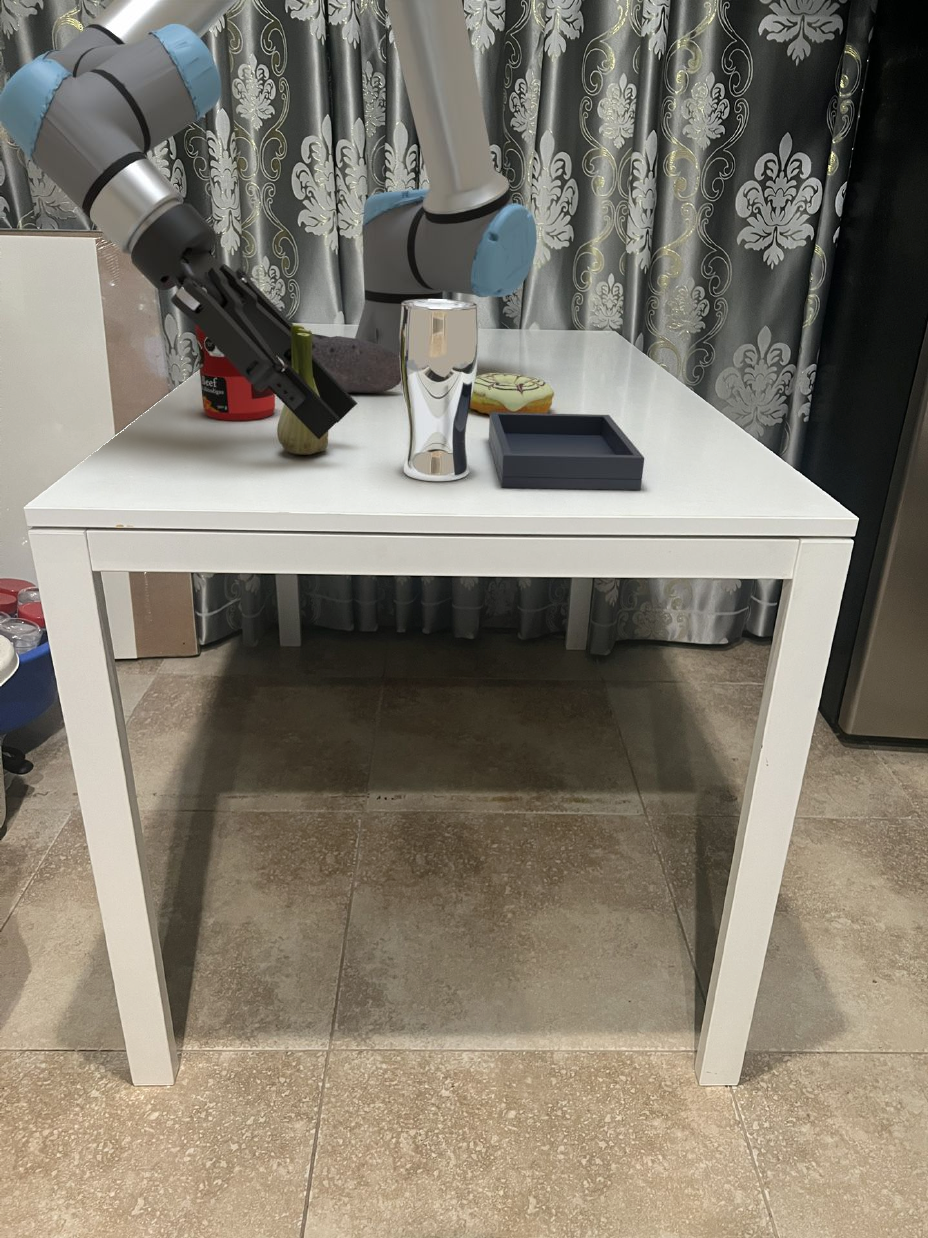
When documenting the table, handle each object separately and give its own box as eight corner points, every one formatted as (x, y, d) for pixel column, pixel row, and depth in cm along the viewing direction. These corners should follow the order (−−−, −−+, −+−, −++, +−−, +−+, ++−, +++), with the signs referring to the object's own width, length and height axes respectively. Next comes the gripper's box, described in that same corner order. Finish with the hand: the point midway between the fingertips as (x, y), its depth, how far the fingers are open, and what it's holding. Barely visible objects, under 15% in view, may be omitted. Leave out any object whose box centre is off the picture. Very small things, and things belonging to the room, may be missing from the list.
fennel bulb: (318, 462, 86) (313, 331, 81) (269, 458, 87) (261, 328, 82) (336, 447, 91) (333, 323, 86) (289, 443, 92) (283, 320, 87)
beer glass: (414, 486, 80) (415, 309, 74) (388, 465, 86) (387, 298, 80) (485, 479, 83) (493, 307, 76) (455, 459, 89) (460, 297, 82)
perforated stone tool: (407, 391, 117) (407, 335, 114) (400, 399, 112) (400, 341, 109) (293, 384, 118) (291, 329, 115) (282, 392, 114) (278, 335, 111)
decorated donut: (522, 424, 103) (524, 391, 101) (445, 409, 108) (446, 377, 106) (567, 409, 110) (569, 377, 109) (493, 396, 116) (495, 366, 114)
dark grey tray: (488, 440, 96) (489, 411, 94) (606, 442, 96) (609, 414, 95) (501, 487, 81) (503, 454, 80) (640, 490, 82) (644, 457, 80)
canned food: (198, 408, 105) (189, 308, 100) (267, 404, 108) (261, 307, 103) (209, 423, 98) (200, 317, 94) (282, 418, 101) (277, 316, 97)
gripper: (175, 253, 92) (337, 423, 97) (80, 267, 75) (283, 473, 80) (222, 197, 89) (386, 376, 94) (133, 199, 72) (340, 417, 77)
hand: (338, 420), depth 87 cm, fingers open, 6 cm apart
